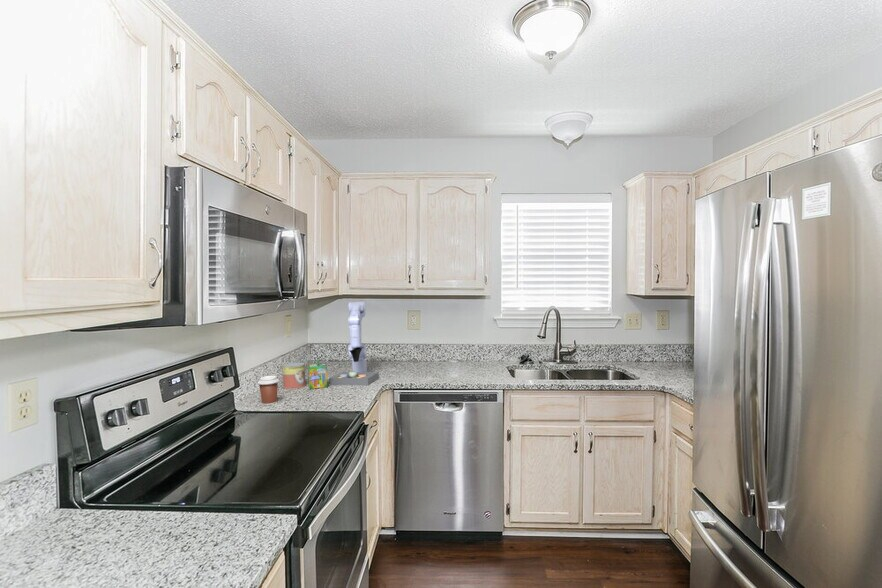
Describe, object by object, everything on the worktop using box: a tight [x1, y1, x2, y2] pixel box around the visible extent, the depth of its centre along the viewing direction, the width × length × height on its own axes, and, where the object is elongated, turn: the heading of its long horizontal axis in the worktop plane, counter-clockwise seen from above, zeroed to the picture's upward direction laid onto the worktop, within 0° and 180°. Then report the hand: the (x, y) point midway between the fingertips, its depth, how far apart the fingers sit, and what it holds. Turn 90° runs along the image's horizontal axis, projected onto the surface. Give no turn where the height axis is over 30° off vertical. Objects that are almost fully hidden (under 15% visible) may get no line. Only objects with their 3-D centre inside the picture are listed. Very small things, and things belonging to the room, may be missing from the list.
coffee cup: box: [257, 375, 280, 406], centre depth 201 cm, size 9×9×12 cm
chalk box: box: [307, 358, 329, 390], centre depth 230 cm, size 9×9×15 cm
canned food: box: [281, 361, 307, 390], centre depth 232 cm, size 11×11×12 cm
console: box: [328, 371, 380, 386], centre depth 240 cm, size 16×22×4 cm
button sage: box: [348, 371, 357, 377], centre depth 238 cm, size 4×4×3 cm
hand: (356, 361), depth 242 cm, fingers closed
